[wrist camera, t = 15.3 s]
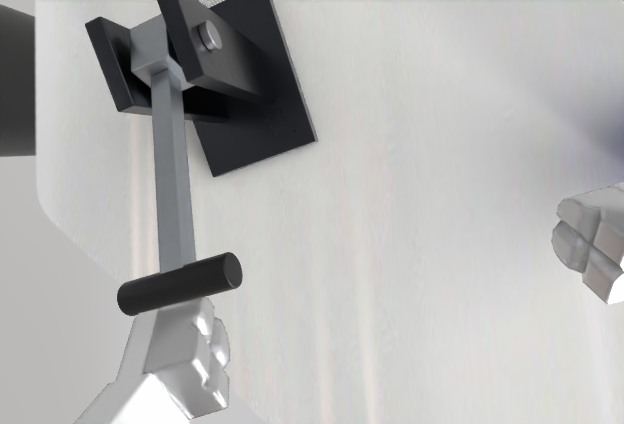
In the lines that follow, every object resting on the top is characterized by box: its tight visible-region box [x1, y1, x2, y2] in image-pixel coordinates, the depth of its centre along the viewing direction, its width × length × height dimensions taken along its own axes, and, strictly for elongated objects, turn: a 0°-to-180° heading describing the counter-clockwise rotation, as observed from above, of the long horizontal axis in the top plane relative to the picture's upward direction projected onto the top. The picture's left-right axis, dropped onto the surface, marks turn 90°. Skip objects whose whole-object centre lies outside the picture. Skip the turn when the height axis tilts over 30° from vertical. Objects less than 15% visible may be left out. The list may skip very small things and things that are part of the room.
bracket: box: [85, 0, 318, 177], centre depth 24 cm, size 12×9×13 cm
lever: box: [117, 14, 242, 316], centre depth 18 cm, size 14×5×2 cm, turn 18°
